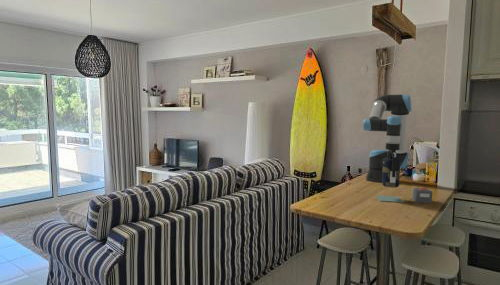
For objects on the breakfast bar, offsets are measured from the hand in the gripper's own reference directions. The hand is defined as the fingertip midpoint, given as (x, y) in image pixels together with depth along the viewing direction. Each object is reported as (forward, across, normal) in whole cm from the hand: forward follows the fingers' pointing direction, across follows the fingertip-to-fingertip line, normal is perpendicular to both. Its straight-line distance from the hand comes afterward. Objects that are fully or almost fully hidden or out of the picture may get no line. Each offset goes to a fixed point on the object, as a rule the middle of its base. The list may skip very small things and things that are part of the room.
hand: (390, 180), depth 200 cm
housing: (+11, 0, +18) cm, 21 cm away
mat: (+11, 0, 0) cm, 11 cm away
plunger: (+10, 0, +18) cm, 21 cm away
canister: (+4, 0, 0) cm, 4 cm away
